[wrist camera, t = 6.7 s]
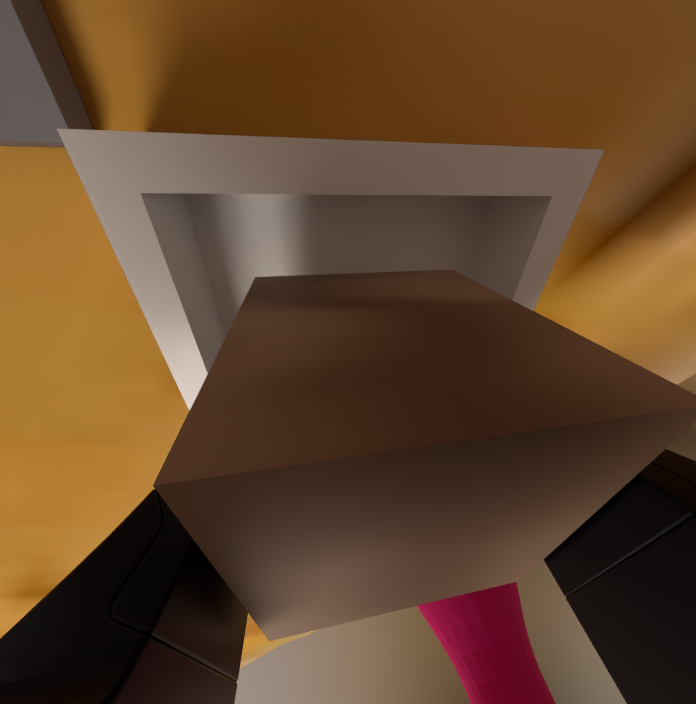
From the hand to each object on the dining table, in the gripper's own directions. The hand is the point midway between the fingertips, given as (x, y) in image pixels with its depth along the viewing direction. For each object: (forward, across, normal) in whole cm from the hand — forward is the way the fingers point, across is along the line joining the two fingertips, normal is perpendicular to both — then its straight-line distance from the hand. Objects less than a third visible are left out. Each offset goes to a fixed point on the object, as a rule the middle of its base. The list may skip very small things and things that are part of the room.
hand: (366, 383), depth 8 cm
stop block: (+2, 0, 0) cm, 2 cm away
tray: (+4, 0, 0) cm, 4 cm away
